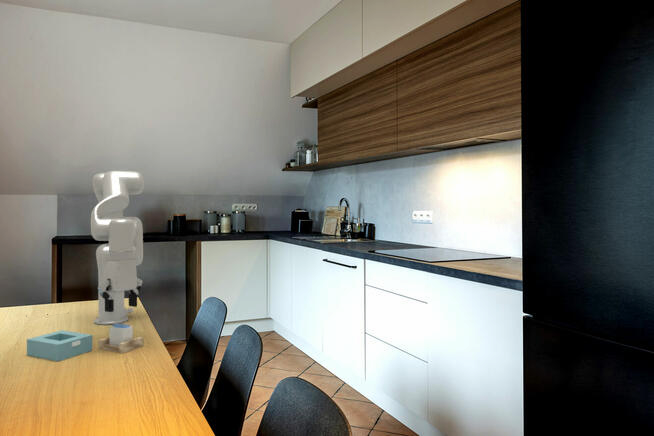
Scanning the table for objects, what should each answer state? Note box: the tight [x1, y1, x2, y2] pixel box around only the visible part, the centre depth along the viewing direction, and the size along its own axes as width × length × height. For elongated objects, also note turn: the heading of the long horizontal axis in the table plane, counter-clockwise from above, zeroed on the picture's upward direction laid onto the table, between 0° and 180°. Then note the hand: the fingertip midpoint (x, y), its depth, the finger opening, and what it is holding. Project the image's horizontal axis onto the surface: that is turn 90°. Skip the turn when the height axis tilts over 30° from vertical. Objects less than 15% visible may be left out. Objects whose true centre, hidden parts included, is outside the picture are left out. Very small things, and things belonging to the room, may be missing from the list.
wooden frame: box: [98, 336, 144, 354], centre depth 153 cm, size 9×10×3 cm
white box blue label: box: [108, 323, 134, 346], centre depth 153 cm, size 4×6×8 cm, turn 67°
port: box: [26, 329, 93, 362], centre depth 147 cm, size 12×14×5 cm
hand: (121, 308), depth 153 cm, fingers open, 9 cm apart
